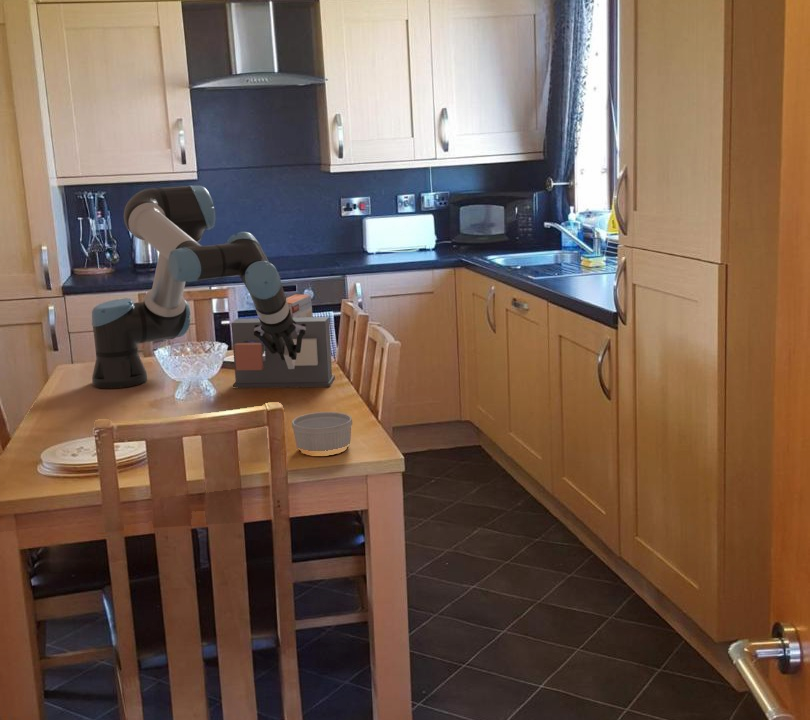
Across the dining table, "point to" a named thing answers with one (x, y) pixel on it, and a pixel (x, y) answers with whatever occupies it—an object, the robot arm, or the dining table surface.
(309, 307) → the cracker box
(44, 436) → the dining table surface
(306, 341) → the cream button
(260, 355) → the brick button
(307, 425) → the ramekin
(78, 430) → the dining table surface
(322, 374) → the box
